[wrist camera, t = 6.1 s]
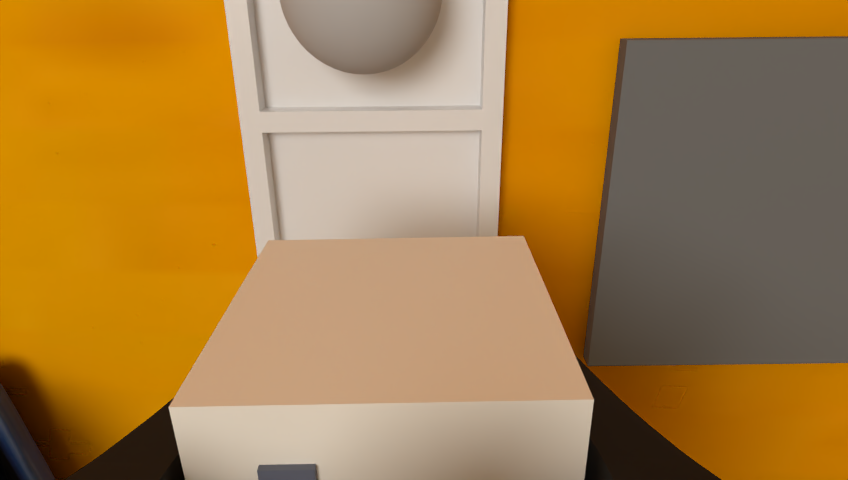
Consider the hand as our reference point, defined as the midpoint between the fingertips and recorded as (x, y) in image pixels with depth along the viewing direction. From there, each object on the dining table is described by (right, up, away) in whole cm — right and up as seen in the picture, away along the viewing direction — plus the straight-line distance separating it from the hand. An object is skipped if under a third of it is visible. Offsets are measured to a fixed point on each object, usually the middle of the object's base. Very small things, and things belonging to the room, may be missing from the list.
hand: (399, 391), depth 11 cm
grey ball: (-1, +10, +5) cm, 11 cm away
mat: (+12, +4, +8) cm, 15 cm away
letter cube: (0, +1, +1) cm, 2 cm away
